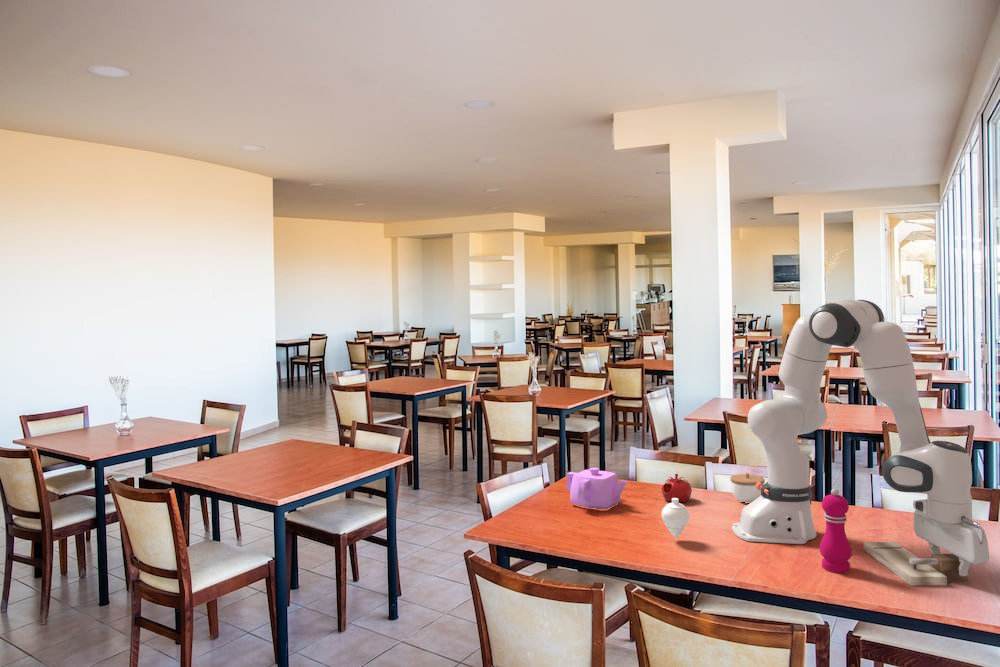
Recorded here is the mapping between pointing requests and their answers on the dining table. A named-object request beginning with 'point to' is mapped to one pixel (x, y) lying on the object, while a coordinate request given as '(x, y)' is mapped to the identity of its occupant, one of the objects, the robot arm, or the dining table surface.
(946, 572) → the gauge
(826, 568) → the pepper mill
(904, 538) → the dining table surface
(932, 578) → the plank
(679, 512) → the spinning top
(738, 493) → the lidded jar
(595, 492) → the teakettle
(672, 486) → the pomegranate
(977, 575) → the dining table surface
